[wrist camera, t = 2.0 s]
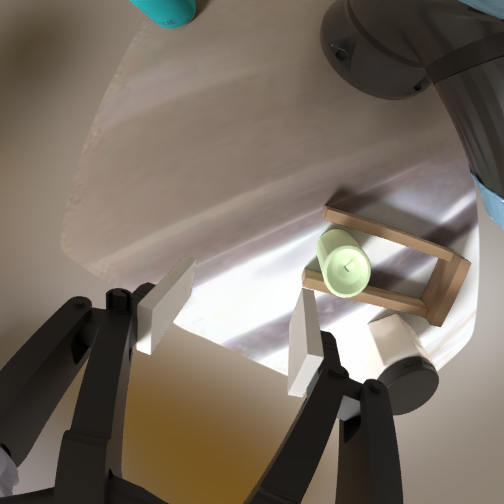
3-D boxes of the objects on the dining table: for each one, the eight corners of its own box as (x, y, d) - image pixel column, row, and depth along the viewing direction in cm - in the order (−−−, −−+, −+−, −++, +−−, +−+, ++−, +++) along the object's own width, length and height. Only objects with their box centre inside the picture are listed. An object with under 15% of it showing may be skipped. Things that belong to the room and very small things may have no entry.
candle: (318, 226, 33) (327, 247, 25) (358, 231, 32) (378, 252, 25) (313, 265, 34) (319, 295, 27) (351, 269, 34) (367, 299, 26)
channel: (324, 205, 32) (330, 212, 27) (452, 250, 31) (471, 262, 26) (301, 276, 35) (303, 294, 30) (427, 309, 34) (440, 327, 30)
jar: (420, 333, 36) (450, 385, 24) (382, 367, 38) (400, 423, 27) (388, 303, 35) (419, 356, 23) (346, 341, 37) (361, 401, 26)
